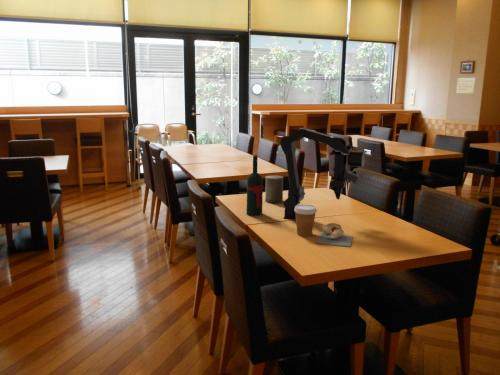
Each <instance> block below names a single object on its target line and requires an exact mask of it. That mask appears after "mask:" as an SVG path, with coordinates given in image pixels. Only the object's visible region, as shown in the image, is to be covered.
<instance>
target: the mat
mask: <svg viewBox="0 0 500 375" xmlns="http://www.w3.org/2000/svg"><path fill="white" fill-rule="evenodd" d="M328 235H329V234H327V233H326V232H321V234H320V236H319V238H318V239H317V242H316V244H320V245H327V246H337V247H345V248H350V247H351V244H352V241H353V235H345V234H343V235H342V236H341V237H340V238H338V239H331V238H329V237H328Z"/></svg>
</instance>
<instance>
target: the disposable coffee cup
mask: <svg viewBox="0 0 500 375" xmlns="http://www.w3.org/2000/svg"><path fill="white" fill-rule="evenodd" d="M294 211H295V215H296V219H295V224H296V225H295V226H296V234H297V235H298V236H301V237H310V236H312V235H313V230H314V224H315V218H316V213H317V212H318V209H317V208H316V206H315V205H313V204H307V203H306V204H304V203H303V204H298V205H296V206H295V209H294Z"/></svg>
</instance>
